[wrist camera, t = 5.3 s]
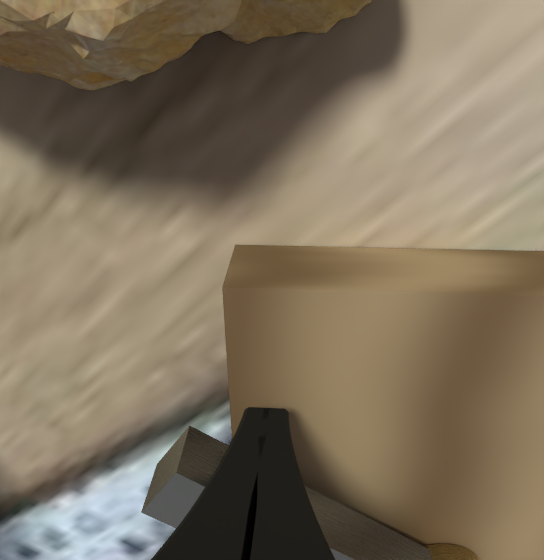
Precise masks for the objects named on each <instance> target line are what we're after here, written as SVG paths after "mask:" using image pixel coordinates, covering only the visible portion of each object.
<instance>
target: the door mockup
mask: <svg viewBox="0 0 544 560" xmlns="http://www.w3.org/2000/svg"><path fill="white" fill-rule="evenodd" d="M222 289H223V304H224V320H225V335H226V351H227V366H228V382H229V397H230V413H231V428H232V439H233V437H234V435H235V433H236V430H237V428H238V426H239V423H240V421H241V419H242V416H243V413H244V410H245V409H247V408H248V407H261V408H284V409H286V410H287V411H288V412H289V427H290V433H291V439H292V444H293V448H294V453H295V456H296V460H297V464H298V467H299V470H300V473H301V477H302V480H303V483H304V485H306V486H308V487H309V488H311V489H313V490H315V491H317V492H319V493H321V494H323V495H325V496H327V497H329V498H331V499H333V500H335V501H337V502H339V503H340V504H342V505H344V506H346V507H348V508H350V509H352V510H354V511H356V512H358V513H360V514H362V515H364V516H366V517H368V518H370V519H371V520H373V521H375V522H377V523H379V524H381V525H383V526H385V527H387V528H389V529H391V530H393V531H395V532H397V533H399V534H401V535H402V536H404V537H406V538H408V539H410V540H412V541H414V542H416V543H418V544H420V545H422V546H428V545H434V544H451V545H457V546H461V547H464V548H466V549H468V550H470V551H472V552H473V553H475V554H476V555H477V556H478V557H479V559H480V560H544V251H505V250H457V249H408V248H360V247H311V246H263V245H235V248H234V251H233V254H232V258H231V261H230V264H229V267H228V271H227V274H226V277H225V281H224V284H223V287H222Z"/></svg>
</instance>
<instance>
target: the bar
mask: <svg viewBox="0 0 544 560" xmlns="http://www.w3.org/2000/svg"><path fill="white" fill-rule="evenodd" d="M228 447H229V446H228V445H226V444H224V443H222V442H220V441H218V440H216V439H215V438H213V437H211V436H209V435H207V434H205V433H203V432H201V431H199V430H197V429H195V428H193V427H191V426H189V427H188V428H187V429H186V430H185V432H184V433H183V434H182V435H181V436H180V438H179V439H178V440H177V441H176V442H175V444H174V445H173V446H172V447H171V448H170V450H169V451H168V452H167V453H166V454H165V455H164V457H163V458H162V459H161V460H160V461H159V463H158V464H157V466H156V469H155V472H154V475H153V478H152V481H151V484H150V488H149V491H148V494H147V497H146V500H145V503H144V506H143V509H142V513H144V514H146V515H148V516H150V517H153V518H155V519H157V520H159V521H161V522H164V523H166V524H168V525H170V526H172V527H174V528H177V527H178V526H179V524H180V523H181V522H182V520H183V519H184V518H185V516H186V515H187V513H188V512H189V511H190V509H191V508H192V506H193V505H194V503H195V502H196V500H197V499H198V497H199V496H200V494H201V493H202V491H203V490H204V488H205V486H206V485H207V483H208V482H209V480H210V479H211V477H212V475H213V474H214V472H215V470H216V469H217V467H218V465H219V463H220V461H221V460H222V458H223V456H224V454H225V452H226V451H227V449H228ZM304 486H305V489H306V492H307V495H308V497H309V500H310V503H311V505H312V508H313V511H314V513H315V516H316V518H317V521H318V523H319V525H320V528H321V530H322V532H323V534H324V537H325V539H326V541H327V543H328V545H329V547H330V550H331V552H332V554H333V556H334V558H335V560H480V559H479V557H478V556H477V555H476V554H475V553H473V552H472V551H470V550H468V549H466V548H464V547H461V546H457V545H451V544H434V545H428V546H422V545H420V544H418V543H416V542H414V541H412V540H410V539H408V538H406V537H404V536H402V535H401V534H399V533H397V532H395V531H393V530H391V529H389V528H387V527H385V526H383V525H381V524H379V523H377V522H375V521H373V520H371V519H370V518H368V517H366V516H364V515H362V514H360V513H358V512H356V511H354V510H352V509H350V508H348V507H346V506H344V505H342V504H340V503H339V502H337V501H335V500H333V499H331V498H329V497H327V496H325V495H323V494H321V493H319V492H317V491H315V490H313V489H311V488H309V487H308V486H306V485H304Z"/></svg>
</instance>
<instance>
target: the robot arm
mask: <svg viewBox="0 0 544 560" xmlns="http://www.w3.org/2000/svg"><path fill="white" fill-rule="evenodd" d="M151 560H335V558H334V556H333V554H332V552H331V550H330V547H329V545H328V543H327V541H326V539H325V537H324V534H323V532H322V530H321V528H320V525H319V523H318V521H317V518H316V516H315V513H314V511H313V508H312V505H311V503H310V500H309V497H308V495H307V492H306V489H305V486H304V483H303V480H302V477H301V473H300V470H299V467H298V464H297V460H296V456H295V453H294V448H293V444H292V439H291V433H290V427H289V412H288V411H287V410H286V409H284V408H261V407H248V408H247V409H245V410H244V413H243V416H242V419H241V421H240V423H239V426H238V428H237V430H236V433H235V435H234V437H233V439H232V441H231V443H230V445H229V447H228V449H227V451H226V452H225V454H224V456H223V458H222V460H221V461H220V463H219V465H218V467H217V469H216V470H215V472H214V474H213V475H212V477H211V479H210V480H209V482H208V483H207V485H206V486H205V488H204V490H203V491H202V493H201V494H200V496H199V497H198V499H197V500H196V502H195V503H194V505H193V506H192V508H191V509H190V511H189V512H188V513H187V515H186V516H185V518H184V519H183V520H182V522H181V523H180V524H179V526H178V527H177V528H176V530H175V531H174V532H173V533H172V535H171V536H170V537H169V538H168V540H167V541H166V542H165V543H164V545H163V546H162V547H161V548H160V549H159V551H158V552H157V553H156V554H155V556H154V557H153V558H152V559H151Z"/></svg>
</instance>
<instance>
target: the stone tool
mask: <svg viewBox="0 0 544 560" xmlns="http://www.w3.org/2000/svg"><path fill="white" fill-rule="evenodd" d="M371 1H372V0H0V65H3V66H7V67H9V68H11V69H14V70H18V71H21V72H24V73H27V74H29V73H39V74H43V75H45V76H48V77H50V78H57V79H60V80H63V81H65V82H67V83H68V84H70V85H72V86H74V87H75V88H80V89H87V90H97V89H100V88H103V87H109V86H110V85H113V84H116V83H119V82H122V81H124V80H128V81H130V82H132V81H133V80H135V79H136V78H137V77H139V76H142V75H146V74H147V73H152V72H154V71H156V70H158V69H160V68H161V67H162V66H163V65H164V64H165V63H167V62H170V61H173V60H176V59H179V58H180V57H181V56H183V55H184V54H185V53H186V52H187V51H188V50H190V49H191V48H192V47H193V44H194V43H195V42H196V41H197V40H198V39H199V38H200V37H201V36H203V35H206V34H209V33H212V32H216V31H222V32H223V33H224V34H226V35H227V36H229V37H230V38H232V39H233V40H238V41H241V42H243V43H245V44H249V43H252V42H255V41H258V40H259V39H261V38H264V37H269V36H277V37H279V36H286V35H290V34H293V33H296V32H303V31H306V32H310V33H315V34H318V33H319V32H321V33H327V32H328V31H329V30H330V29H331V28H332V27H333V26H334V25H335V24H336V23H337V22H338V21H339V20H341V19H345V18H349V17H353V16H355V15H357V13H358V12H359V11H360V10H361V9H362V8H363V6H365V5H367V4H369V3H371Z"/></svg>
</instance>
